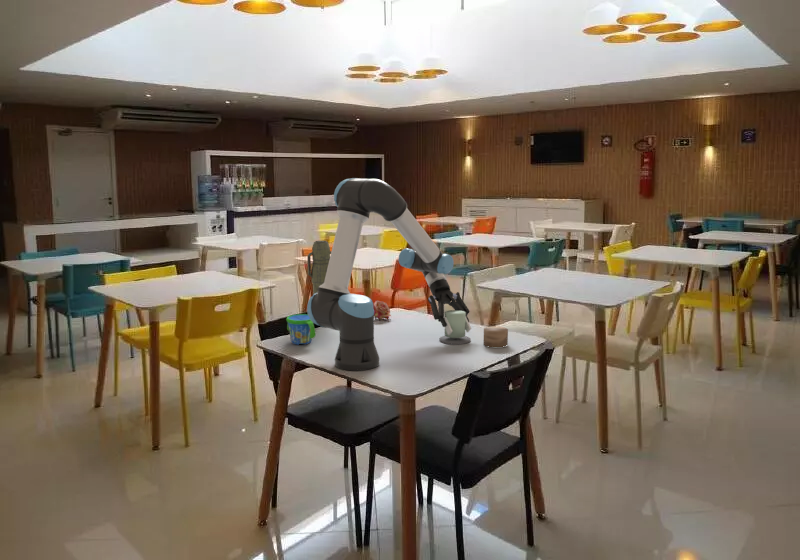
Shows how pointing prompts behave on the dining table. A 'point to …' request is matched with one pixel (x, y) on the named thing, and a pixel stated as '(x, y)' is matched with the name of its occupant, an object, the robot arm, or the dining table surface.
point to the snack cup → (300, 328)
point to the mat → (454, 340)
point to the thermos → (318, 263)
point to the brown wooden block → (495, 336)
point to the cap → (456, 323)
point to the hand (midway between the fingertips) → (459, 331)
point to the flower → (381, 310)
